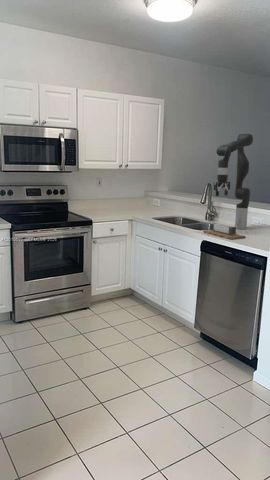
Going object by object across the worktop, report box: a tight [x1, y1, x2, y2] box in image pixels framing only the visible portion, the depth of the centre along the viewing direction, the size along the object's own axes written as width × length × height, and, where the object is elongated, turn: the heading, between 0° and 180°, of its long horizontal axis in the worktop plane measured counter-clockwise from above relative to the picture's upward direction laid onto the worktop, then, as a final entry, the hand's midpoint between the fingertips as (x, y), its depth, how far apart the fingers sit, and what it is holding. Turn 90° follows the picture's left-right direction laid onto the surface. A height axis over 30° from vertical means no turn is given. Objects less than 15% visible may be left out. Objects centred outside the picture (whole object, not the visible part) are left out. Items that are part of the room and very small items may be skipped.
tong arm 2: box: [215, 222, 237, 234], centre depth 286 cm, size 20×2×5 cm, turn 30°
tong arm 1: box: [214, 223, 235, 235], centre depth 284 cm, size 20×2×5 cm, turn 30°
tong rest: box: [202, 222, 247, 241], centre depth 286 cm, size 30×14×8 cm, turn 30°
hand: (221, 195), depth 291 cm, fingers open, 8 cm apart
